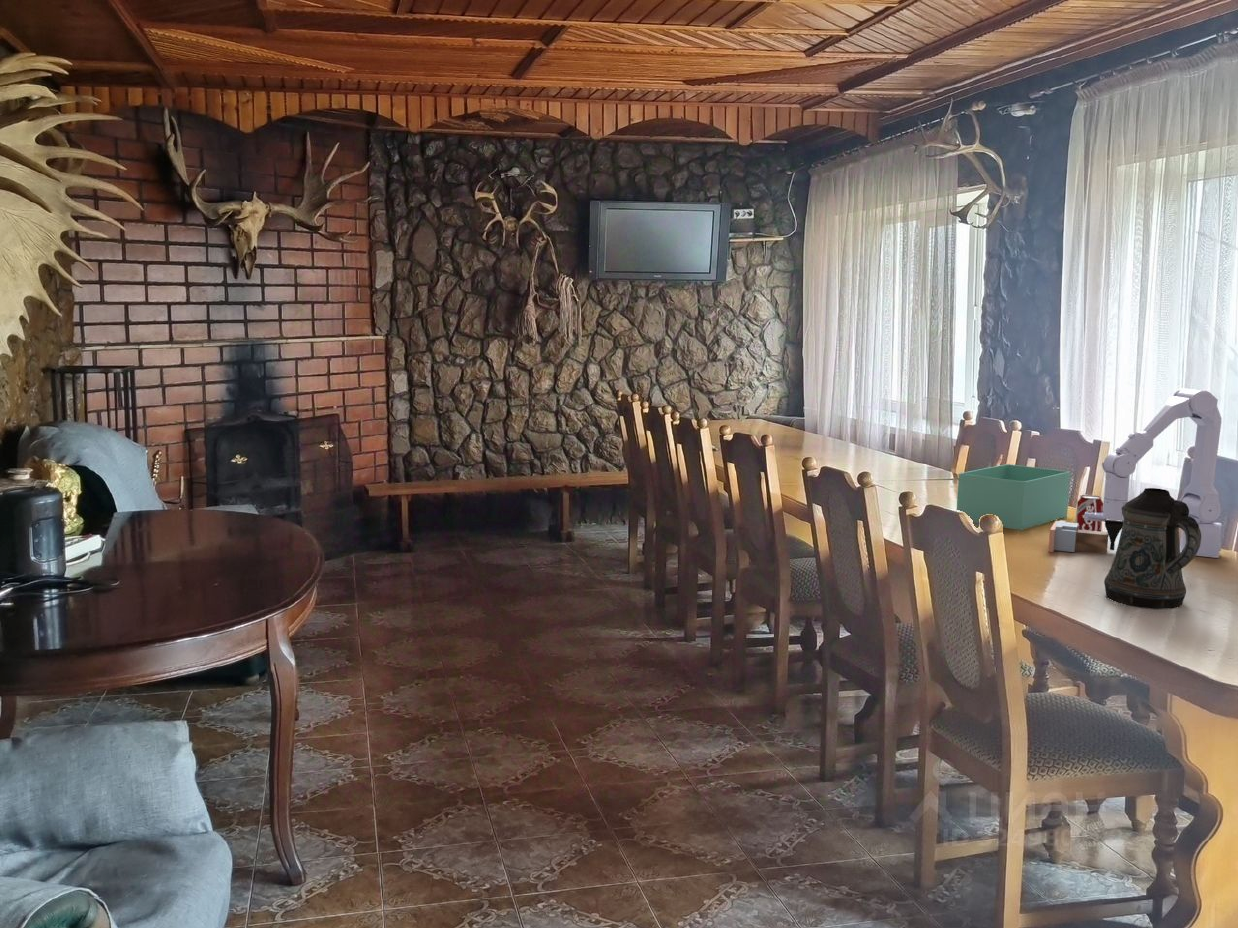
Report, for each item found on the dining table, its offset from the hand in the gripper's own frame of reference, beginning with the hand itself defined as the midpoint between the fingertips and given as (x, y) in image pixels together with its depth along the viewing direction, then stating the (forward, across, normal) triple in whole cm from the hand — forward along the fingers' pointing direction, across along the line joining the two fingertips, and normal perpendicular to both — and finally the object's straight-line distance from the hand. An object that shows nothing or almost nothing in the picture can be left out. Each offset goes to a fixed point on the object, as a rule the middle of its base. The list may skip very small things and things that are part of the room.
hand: (1111, 549), depth 288 cm
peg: (+1, +7, -1) cm, 7 cm away
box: (+2, +30, -39) cm, 49 cm away
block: (+1, +11, 0) cm, 11 cm away
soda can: (+1, +7, -18) cm, 20 cm away
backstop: (+1, +14, 0) cm, 14 cm away
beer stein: (+1, -10, +48) cm, 49 cm away
